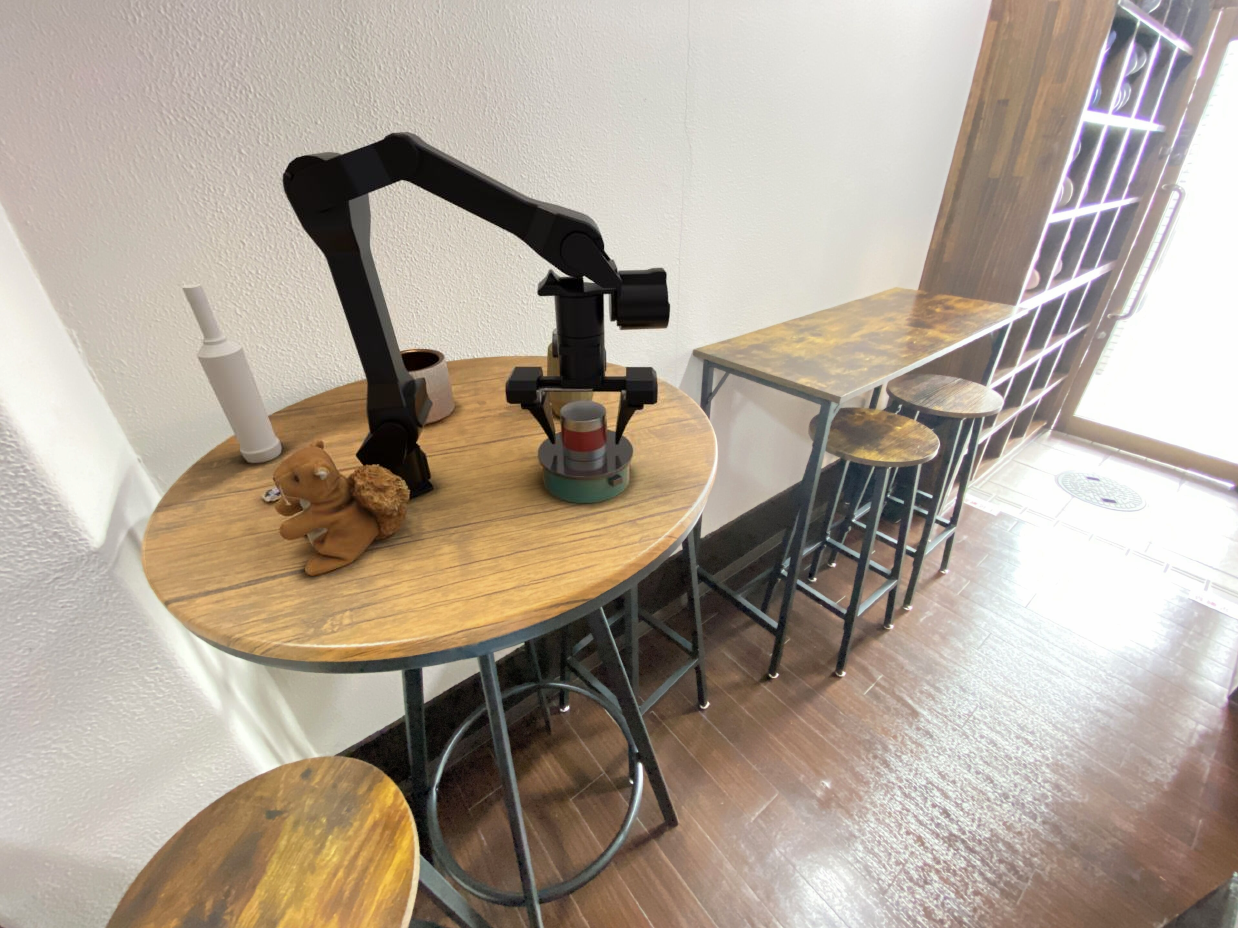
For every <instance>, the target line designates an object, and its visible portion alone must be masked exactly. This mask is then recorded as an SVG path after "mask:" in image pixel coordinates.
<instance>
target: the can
mask: <svg viewBox="0 0 1238 928" xmlns="http://www.w3.org/2000/svg"><path fill="white" fill-rule="evenodd" d="M607 429H608V418H607V408H606V407H605V406H604V405H603V403H600V402H597V401H594V400H592V401H575V402H571V403H569V404H566V405H565V406H563V407H562V408H561V411H560V432H561V436H562V445H563V453H564V455H565V456H566V457H568V458H569V459H572V460H575V461H592V460H596V459H599V458H601V457H602V456H603V455H604V454H605V453H606V451H607Z"/></svg>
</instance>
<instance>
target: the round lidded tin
mask: <svg viewBox="0 0 1238 928" xmlns="http://www.w3.org/2000/svg"><path fill="white" fill-rule="evenodd" d="M555 434H556V442H555V444H552V443H551V442H550V440H549V438H548V437H547V438H546V439H544V440H543V441H542V442H541V444H540V445H539V447H538V449H537V460H538V463H539V464H540V466H541V467H542V474H543V483H544V486H545V488H546V490H547V491H548V492H549V493H550V494H551V495H552V496H553V497H555V498H557V499H559V500H562V501H565V502H568V503H574V504H594V503H602V502H603V501H607V500H610V499H613V498H614V497H616V496H619V494H621V493H622V492H623V491H625V489H626V488H627V487H628V485H629V482H630V464H631V462H632V460H633V458H634V447H633V444H632V442H631V441H630V440H629V439H628V438H627V437H626V436H624V434H623V435H622V437H621V439H620V442H619V444H618V445H616V444H615V431H614V430H612V429H609V428H607V451H606V453H605V454H604V455H603V456H602V457H601V458H599V459H596V460H592V461H575V460H572V459H569V458H568V457H566V456H565V455H564V453H563V445H562V436H561V431H558V432H555Z"/></svg>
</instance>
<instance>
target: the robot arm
mask: <svg viewBox="0 0 1238 928" xmlns="http://www.w3.org/2000/svg"><path fill="white" fill-rule="evenodd" d="M281 180H282V181H281V182H282V187H283V192H284V194H285V196H286V199H287V200H288V202H289V205H290V206H291V208H292V211H293V212H294V214H295V216H296V217H297V220H298V222H299V224H300V225H301V227H302V229H303V230H304V232H305V233H306V234H307V236H308V237H309V238H310V239H311V241H312V242H313V243H314V244H315V245H316V247H317V248H318V250H320V252H321V253H322V254H323V256H324V258H325V260H326V262H327V266H328V268H329V272H330V275H331V277H332V281H333V283H334V286H335V289H336V292H337V296H338V298H339V301H340V304H341V307H342V311H343V314H344V316H345V320H346V322H347V325H348V328H349V331H350V335H351V337H352V340H353V343H354V346H355V349H356V353H357V354H358V357H359V361H360V364H361V367H362V371H363V373H364V375H365V378H366V384H367V385H366V418H367V424H368V433H367V434H366V436H365V438H364V440H363V441H362V443H361V444H360V447H359V448H358V450H357V452H356V453H355V458H357V460H358V461H359V463H361V465H362V466H366V465H368V466H369V465H370V466H371V465H373V464H374V465H378V464H379V466H381V467H383V468H386V469H387V470H390V471H391V472H392V474H395V475H396V476H399V477H401V478H402V480H405V484H406V486H408V489H409V490H410V495H409V497H410V498H409V500H411V499H414V498H415V497H418V496H421V495H423V494H426V493H429V492H432V491H433V490H434V489H435V487H434V484H433V483H432V482H431V481H430V480H431V479H432V474H431V469H430V465H429V462H428V457H427V454H426V453H425V452H424V451H423V449H422V448H421V446H420V445H419V444H418V441H419V439H420V436H421V434H422V432H423V429H424V427H425V426H426V425H425V422H426V420H427V418H428V415H429V411H430V409H431V407H432V405H433V402H432V401H431V400H430V398H429V396H428V394H427V389H426V380H425V378H424V377H422V378H418V379H414V378H413V377H412V376H411V375H410V374H409V372H408V371H407V370H406V368H405V366H404V363H403V360H402V357H401V353H400V351H401V349H400V346H399V342H398V339H397V336H396V333H395V328H394V326H393V323H392V319H391V316H390V312H389V308H388V305H387V302H386V297H385V294H384V291H383V288H382V284H381V281H380V278H379V274H378V271H377V270H378V269H377V267H376V264H375V260H374V257H373V253H372V249H371V230H372V229H371V226H372V225H371V224H372V213H371V203H370V196H369V194H370V193H373V192H375V191H378V190H380V189H383V188H385V187H388V186H390V185H393V184H396V183H398V182H402V181H404V182H408V183H410V184H412V185H414V186H416V187H418V188H420V189H423V190H424V191H426V192H428V193H430V194H431V195H434V196H436V197H438V198H440V199H442V200H444V201H446V202H448V203H450V204H451V205H454V206H456V207H458V208H460V209H462V210H465V211H466V212H469V214H472V215H474V216H475V217H477V218H480V219H482V220H484V221H486V222H488V223H490V224H492V225H494V226H496V227H498V228H500V229H502V230H504V231H506V232H508V233H510V234H512V235H514V236H515V237H516V238H517V239H519V240H521V241H522V242H523V243H524V244H526V245H527V246H528V247H529V248H530V249H531V250H532V251H534V252H535V254H537V255H538V256H539V257H540V258H542V259H543V260H545V261H546V262H547V263H549V264H550V265H551V266H553V267H554V268H555V269H557V270H559V271H560V273H563V274H564V275H566V276H560V275H558V274H557V273H556V272H555V271H554V270H553V269H551V268H550V269H548V271H547V273H546V275H545V277H544V278H542V279H541V280H540V281H539V282H538V284H537V290H536V291H537V292H536V294H537V296H538V297H553V298H554V299H553V300H554V311H555V313H554V314H555V329H556V330H557V334H552V335H551V343H552V356H553V358H558V359H559V374H560V376H547V375H544V371H543V367H542V366H515V367H514V368H512V370H510V373H509V375H508V377H507V380H506V382H505V386H504V393H505V399H506V403H507V404H509V405H520V409H521V410H523V411H524V410H525V411H528V412H529V413H530V415H532V416H533V418H534V419H535V420H536V421H537V423H539V425H540V427H541V428H542V430H543V432H544V433H545V435H546V437H547V438H549V440H550V442H551V443H552V444H555V442H556V427H555V422H554V416H553V410H552V405H551V403H550V395H549V392H594V393H619V401H618V409H617V416H616V424H615V444H616V445H618V444H619V442H620V439H621V437H622V435H623V436H624V432H625V430H626V427H627V426H628V424H629V422H630V421H631V419H632V417H633V416H634V414H635V413H636V411H643V410H644V409H645V405H647V406H648V405H650V406H652V405H655V404H658V397H659V386H658V385H659V383H658V375H657V371H656V370H655V369H654V367H653V366H625V375H624V376H623V375H622V376H621V375H620V376H616V375H615V376H613V375H606V372H607V350H606V336H605V295H608V315H609V321H610V323H611V322H615V325H616V327H618V329H619V331H635V330H662V329H664V330H665V329H667V328H668V327H669V323H670V316H671V303H670V302H669V289H668V283H667V279H668V278H667V276H668V272H667V271H666V270H665V268H663V267H651V268H648V269H625V270H621V269H620V270H618V266H617V264H616V262H615V259H611V257H610V256H609V254H608V253H607V252H606V251H605V242H604V239H603V236H602V233H601V231H600V227H599V226H598V224H597V223H596V221H595V220H594V219H593V218H592V217H590V216H589V215H588V214H586V213H583V212H580V211H578V210H573V209H571V208H568V207H565V206H561V205H559V204H555V203H552V202H551V203H550V202H548V201H547V202H546V201H542V200H538V199H536V198H532V197H529V196H527V195H525V194H523V193H522V192H519V191H517V190H516V189H514V188H512V187H510V186H508V185H507V184H504V183H502V182H500V181H499V180H497V179H496V178H493V177H491V176H489V175H488V174H485V173H484V172H481V171H480V170H478V169H476V168H475V167H473V166H470V165H469V164H466V163H465V162H463V161H461V160H459V159H457V158H456V157H453V156H452V155H450V154H447V153H446V152H444V151H443V150H440V149H438V148H436V147H434V146H433V145H431V144H429V143H427V142H426V141H425V140H423V139H422V138H421V137H420V136H419V135H417V134H416V133H412V132H409V131H399V132H391V133H389V134H387V135H385V136H384V137H383V139H380V140H377V141H375V142H373V143H370V144H366V145H364V146H362V147H359V148H355V149H353V150H351V151H348V152H345V153H339V152H334V151H325V152H318V153H310V154H304V155H301V156H296V157H295V158H294V159H292V160H291V161H290V162H289V163H288V165H287V166H286V168H285V170H284V172H283V173H282V179H281ZM584 277H585V278H587V279H588V280H590V281H591V282H590V281H589V282H588V281H585V280H584ZM379 466H378V467H379Z"/></svg>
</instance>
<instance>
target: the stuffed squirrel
mask: <svg viewBox="0 0 1238 928" xmlns="http://www.w3.org/2000/svg"><path fill="white" fill-rule="evenodd" d="M324 447H325V443H324V441H323V440H322V439H320V438H317V439H314V440H313V441H311V443H310V444H309V446H306V447H303V448H300V449H298V450H296V451H294V452H293V453H292V454H290V455H289V456H288V457H286V458H285V459H284V460H282V462H280V464H279V465H278V466H277V467H276V468H275V469H274V471H273V473H272V480H273V483H274V485H275V487H277V489H278V490H279V492H280V493H281V496H282V497H280V499H277V500H278V501H276V503H274V509H275V511H276V512H277V513H278V514H279V515H281V516H284V517H290V518H288V519H286V520H284V521H282V523H281V524H280V525H279V528H278V529H279V530H278V533H279V535H280V537H282V538H283V539H284V540H287V541H294V540H298V539H301V538H302V537H304V536H306V535H307V539H308V542H309V543H310V545H311V546H312V547H313V548H314V550H316V553H314V554H313V555H312V556H311V557H310V558H309V559H308V561H307V563H306V565H305V567H304V571H305V573H306V574H307V575H308V576H311V577H313V576H318V575H322V574H325V573H328V572H330V571H331V572H332V571H333V570H337V569H340V568H342V567H344V566H347V565H349V564H351V563H352V562H354V561H355V560H357V559H358V558H359V557H360V555H361V556H362V554H363V553H364V552H365V550H367V548H368V547H369V546H370V545H371V544H372V542H373V541H374V540H375V541H378V540H382V539H385V538H387V537H389V536H391V535H393V534H395V533H397V532H398V531H399V530H400V528H401V527H402V526H403V525H404V524H405V519H406V514H408V513H407V512H408V511H406V505H407V504H408V503H407V502H409V501H410V499H409V498H410V497H409V495H410V490H409V489H408V486H406V484H405V480H402V478H401V477H399V476H396V475H395V474H392V472H391V471H390V470H387V469H386V468H383V467H381V466H379V464H378V465H374V464H373V465H371V466H370V465H369V466H368V465H366V466H363V465H362V466H359V467H357V468H356V469H355V470H353V472H352V473H350V475H349V476H345V475H344V474H342V473H340V472H339V470H338V468H337V466H336V464H335V462H334V460H333V459H332V457H331V456H330V454H329V453H327V451H326V450H325V449H324ZM378 466H379V467H378Z"/></svg>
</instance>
